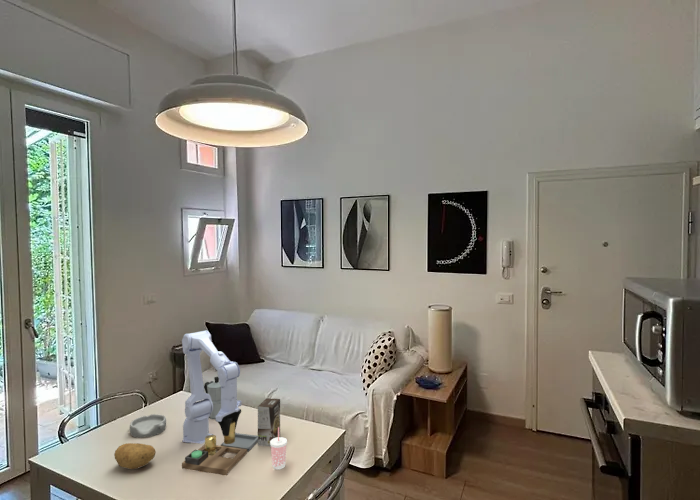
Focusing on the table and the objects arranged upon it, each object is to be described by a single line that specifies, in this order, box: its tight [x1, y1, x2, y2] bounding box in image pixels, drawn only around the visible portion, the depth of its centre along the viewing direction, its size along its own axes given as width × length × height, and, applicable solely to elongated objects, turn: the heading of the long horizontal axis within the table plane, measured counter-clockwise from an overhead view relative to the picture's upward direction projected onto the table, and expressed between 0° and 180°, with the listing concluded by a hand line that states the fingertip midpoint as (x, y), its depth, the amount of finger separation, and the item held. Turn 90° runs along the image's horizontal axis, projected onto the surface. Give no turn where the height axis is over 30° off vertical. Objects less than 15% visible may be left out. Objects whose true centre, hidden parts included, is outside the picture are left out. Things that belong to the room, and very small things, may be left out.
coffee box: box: [257, 397, 281, 448], centre depth 158 cm, size 9×6×16 cm
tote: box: [220, 432, 258, 453], centre depth 156 cm, size 12×10×2 cm
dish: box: [129, 413, 167, 439], centre depth 168 cm, size 14×14×5 cm
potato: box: [113, 442, 157, 470], centre depth 141 cm, size 10×14×8 cm
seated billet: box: [204, 434, 217, 456], centre depth 148 cm, size 4×4×7 cm
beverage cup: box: [270, 427, 288, 470], centre depth 141 cm, size 6×6×14 cm
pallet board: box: [181, 443, 248, 477], centre depth 144 cm, size 18×14×4 cm
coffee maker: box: [203, 376, 221, 420], centre depth 184 cm, size 15×9×18 cm, turn 59°
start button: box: [191, 449, 202, 458], centre depth 141 cm, size 4×4×2 cm
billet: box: [223, 420, 236, 444], centre depth 146 cm, size 4×4×7 cm
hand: (229, 432), depth 146 cm, fingers closed on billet, 4 cm apart
